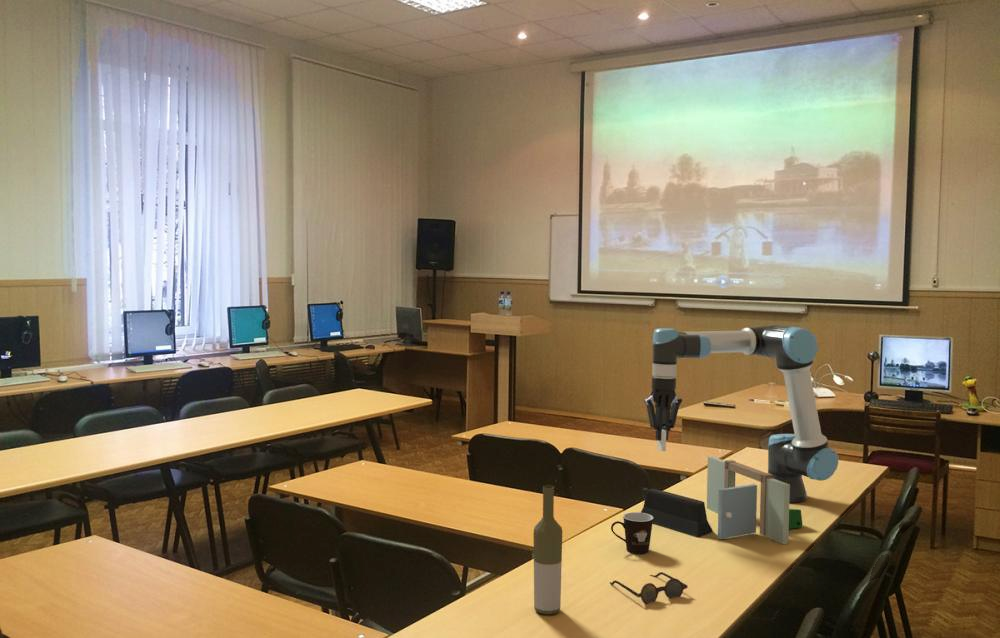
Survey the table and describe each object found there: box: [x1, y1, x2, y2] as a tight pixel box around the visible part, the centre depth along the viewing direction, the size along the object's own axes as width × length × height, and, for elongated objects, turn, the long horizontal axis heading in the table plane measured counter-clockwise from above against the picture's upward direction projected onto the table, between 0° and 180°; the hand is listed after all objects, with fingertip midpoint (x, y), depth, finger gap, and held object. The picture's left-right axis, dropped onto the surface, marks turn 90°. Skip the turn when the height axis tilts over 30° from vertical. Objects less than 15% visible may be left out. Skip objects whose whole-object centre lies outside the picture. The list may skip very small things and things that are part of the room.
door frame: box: [706, 456, 790, 545], centre depth 245 cm, size 3×38×19 cm, turn 20°
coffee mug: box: [610, 511, 654, 555], centre depth 221 cm, size 12×9×10 cm
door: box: [717, 484, 758, 540], centre depth 232 cm, size 14×3×15 cm, turn 115°
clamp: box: [789, 508, 803, 530], centre depth 243 cm, size 12×6×9 cm, turn 97°
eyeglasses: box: [609, 571, 688, 605], centre depth 194 cm, size 15×15×5 cm
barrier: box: [640, 487, 714, 538], centre depth 244 cm, size 24×9×10 cm, turn 41°
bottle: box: [533, 484, 563, 615], centre depth 180 cm, size 7×7×30 cm
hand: (661, 450), depth 242 cm, fingers closed
